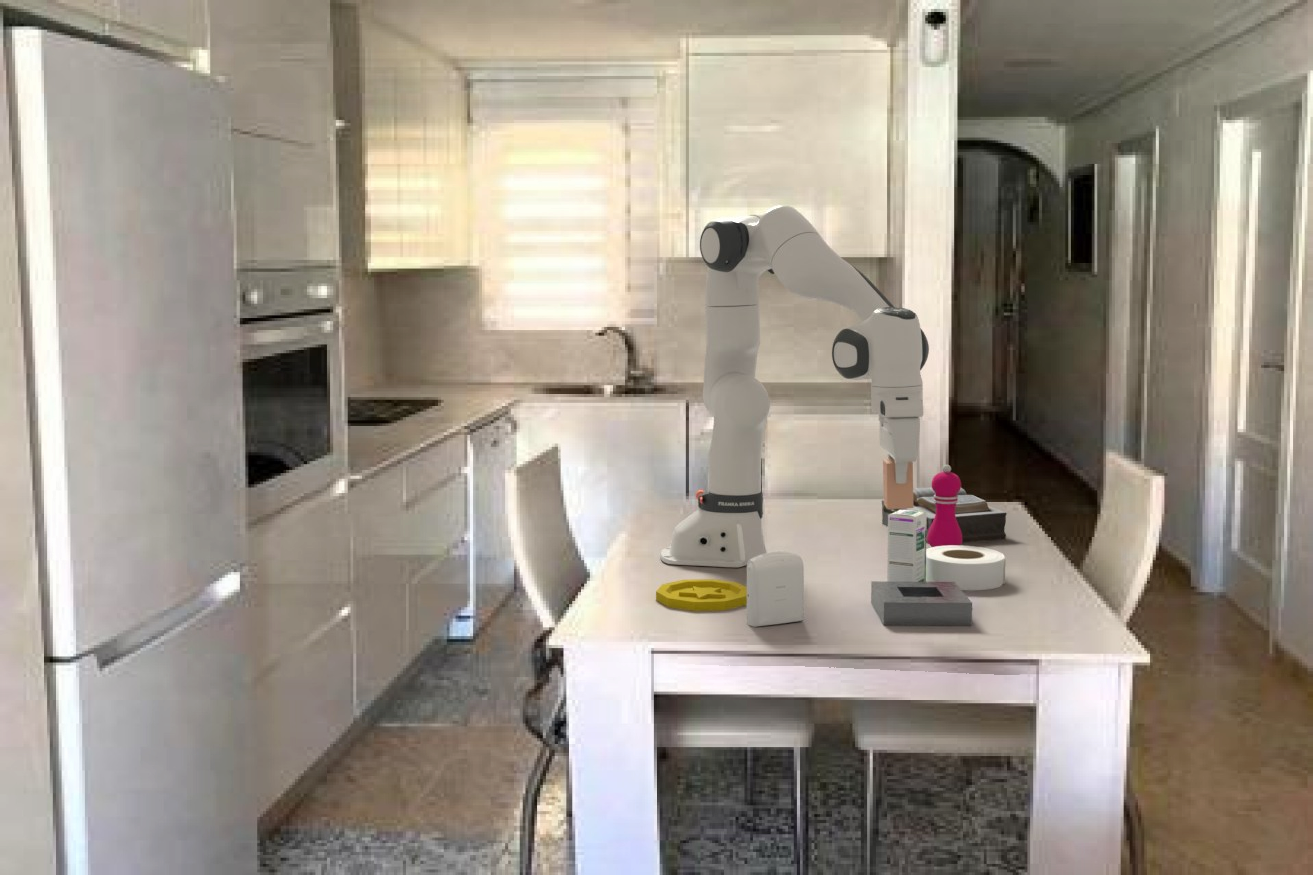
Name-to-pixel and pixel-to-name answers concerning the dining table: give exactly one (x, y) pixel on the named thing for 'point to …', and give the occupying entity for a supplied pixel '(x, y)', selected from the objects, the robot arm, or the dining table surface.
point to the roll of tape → (966, 566)
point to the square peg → (897, 487)
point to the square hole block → (921, 603)
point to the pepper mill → (945, 510)
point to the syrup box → (907, 546)
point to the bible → (959, 515)
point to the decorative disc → (702, 595)
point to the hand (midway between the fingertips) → (897, 480)
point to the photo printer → (775, 589)
